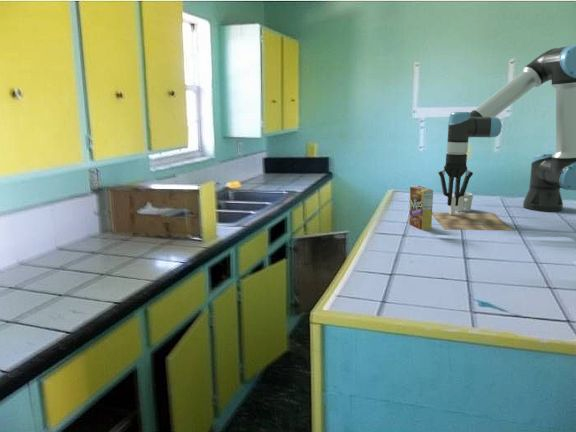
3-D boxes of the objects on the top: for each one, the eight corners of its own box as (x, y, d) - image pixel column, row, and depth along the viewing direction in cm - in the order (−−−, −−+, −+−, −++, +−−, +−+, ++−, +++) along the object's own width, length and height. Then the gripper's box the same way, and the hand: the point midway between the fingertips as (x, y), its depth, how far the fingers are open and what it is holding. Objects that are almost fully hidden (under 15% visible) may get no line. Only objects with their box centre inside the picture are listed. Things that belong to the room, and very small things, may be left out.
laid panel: (500, 222, 189) (501, 219, 188) (515, 233, 173) (515, 230, 173) (435, 222, 191) (435, 218, 191) (444, 232, 175) (444, 229, 175)
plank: (494, 216, 197) (494, 213, 196) (500, 222, 189) (500, 219, 189) (431, 215, 199) (431, 212, 199) (435, 221, 191) (435, 218, 191)
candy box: (407, 227, 183) (409, 186, 180) (418, 226, 184) (420, 185, 181) (420, 233, 175) (423, 190, 171) (431, 232, 176) (434, 189, 173)
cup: (476, 216, 200) (478, 196, 198) (456, 216, 200) (458, 196, 198) (467, 210, 210) (469, 191, 208) (448, 210, 210) (450, 192, 208)
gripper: (471, 152, 193) (466, 212, 199) (437, 152, 195) (433, 211, 200) (477, 154, 186) (471, 216, 191) (441, 154, 187) (436, 215, 193)
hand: (451, 213), depth 196 cm, fingers closed
